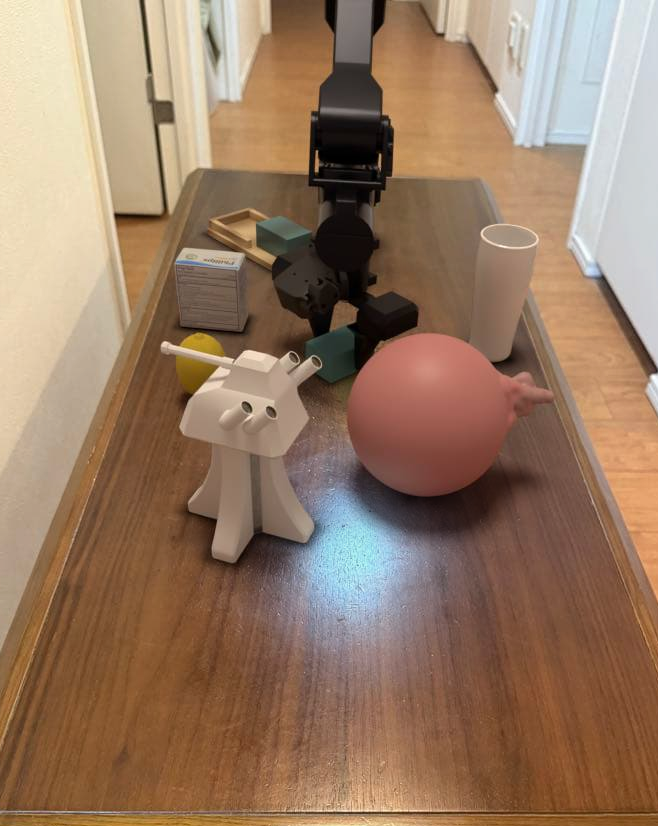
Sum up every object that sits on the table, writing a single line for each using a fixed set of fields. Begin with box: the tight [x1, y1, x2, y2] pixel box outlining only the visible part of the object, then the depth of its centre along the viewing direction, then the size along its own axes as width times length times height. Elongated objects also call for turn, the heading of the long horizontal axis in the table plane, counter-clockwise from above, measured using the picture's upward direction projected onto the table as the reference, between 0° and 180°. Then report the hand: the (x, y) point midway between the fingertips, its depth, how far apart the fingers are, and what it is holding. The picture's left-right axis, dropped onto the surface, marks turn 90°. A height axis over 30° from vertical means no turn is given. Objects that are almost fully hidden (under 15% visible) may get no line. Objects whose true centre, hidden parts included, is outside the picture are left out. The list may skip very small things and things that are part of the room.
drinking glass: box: [468, 223, 540, 363], centre depth 99 cm, size 7×7×15 cm
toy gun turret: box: [160, 340, 322, 564], centre depth 73 cm, size 12×13×18 cm
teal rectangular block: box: [305, 323, 376, 384], centre depth 99 cm, size 7×5×3 cm, turn 134°
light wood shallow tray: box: [206, 207, 313, 272], centre depth 121 cm, size 16×9×4 cm, turn 44°
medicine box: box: [173, 247, 250, 333], centre depth 103 cm, size 8×4×9 cm, turn 84°
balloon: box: [346, 332, 556, 497], centre depth 80 cm, size 15×20×15 cm
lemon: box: [175, 332, 227, 396], centre depth 91 cm, size 6×6×8 cm
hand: (340, 357), depth 99 cm, fingers open, 6 cm apart
